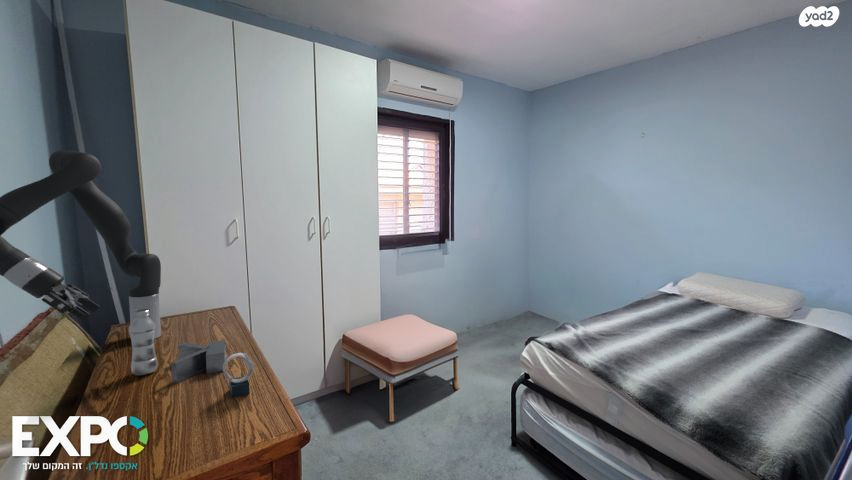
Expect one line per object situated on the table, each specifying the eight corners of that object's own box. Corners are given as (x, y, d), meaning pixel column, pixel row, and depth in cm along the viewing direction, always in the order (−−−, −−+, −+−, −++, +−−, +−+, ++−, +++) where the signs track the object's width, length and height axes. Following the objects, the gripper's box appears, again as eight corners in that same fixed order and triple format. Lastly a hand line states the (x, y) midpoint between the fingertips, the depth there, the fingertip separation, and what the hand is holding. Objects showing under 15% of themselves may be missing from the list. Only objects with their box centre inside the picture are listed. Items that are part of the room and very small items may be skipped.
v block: (179, 360, 122) (179, 343, 122) (226, 353, 128) (225, 336, 128) (171, 384, 106) (170, 364, 105) (224, 374, 112) (224, 356, 112)
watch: (257, 391, 102) (256, 354, 102) (224, 400, 98) (223, 360, 97) (253, 383, 107) (252, 347, 106) (222, 391, 102) (221, 353, 101)
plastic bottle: (143, 379, 109) (140, 314, 107) (125, 376, 110) (121, 312, 108) (163, 370, 115) (160, 308, 113) (145, 367, 116) (142, 306, 114)
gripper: (34, 271, 94) (95, 309, 100) (58, 263, 106) (111, 298, 113) (7, 293, 92) (71, 331, 98) (34, 282, 104) (89, 316, 111)
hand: (92, 313), depth 105 cm, fingers open, 8 cm apart
